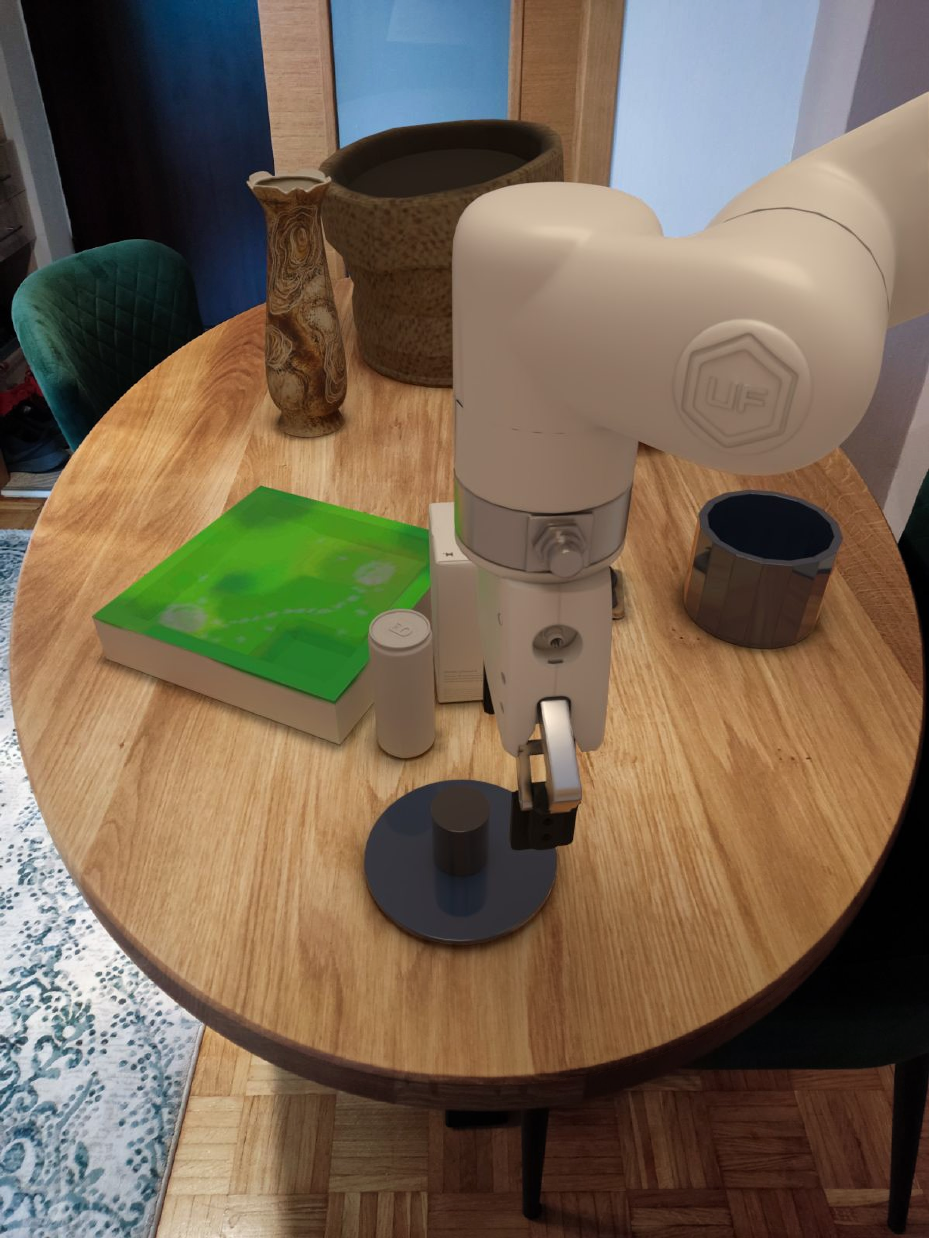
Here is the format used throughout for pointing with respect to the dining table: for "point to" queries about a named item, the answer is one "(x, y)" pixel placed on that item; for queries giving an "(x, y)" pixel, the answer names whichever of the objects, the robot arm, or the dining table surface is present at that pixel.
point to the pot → (420, 227)
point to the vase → (300, 305)
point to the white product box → (453, 612)
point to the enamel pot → (760, 567)
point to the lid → (455, 864)
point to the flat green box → (274, 609)
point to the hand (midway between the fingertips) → (524, 771)
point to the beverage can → (402, 681)
